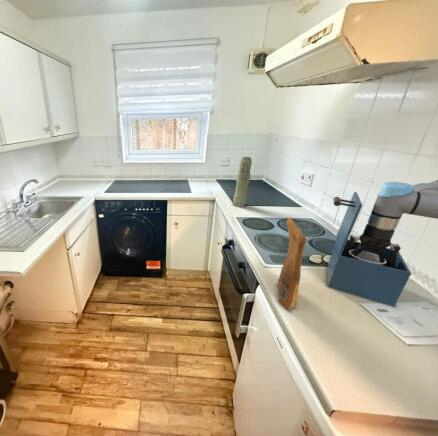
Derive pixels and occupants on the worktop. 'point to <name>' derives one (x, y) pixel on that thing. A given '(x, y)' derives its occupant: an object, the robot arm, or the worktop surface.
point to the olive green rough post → (242, 182)
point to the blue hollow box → (368, 276)
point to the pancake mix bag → (291, 267)
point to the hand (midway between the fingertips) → (358, 279)
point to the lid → (347, 219)
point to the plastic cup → (367, 257)
